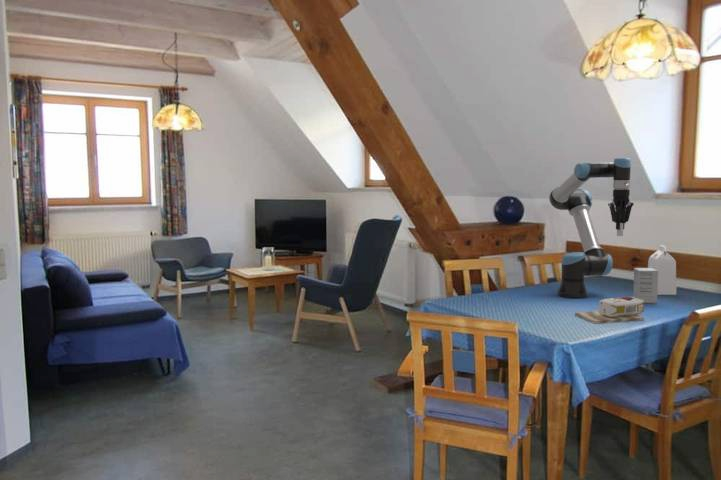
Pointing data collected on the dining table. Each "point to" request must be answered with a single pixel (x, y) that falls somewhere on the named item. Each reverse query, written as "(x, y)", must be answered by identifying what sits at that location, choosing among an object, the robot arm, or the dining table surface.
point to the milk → (664, 271)
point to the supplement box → (645, 284)
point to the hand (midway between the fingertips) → (619, 235)
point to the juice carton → (621, 306)
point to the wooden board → (606, 317)
